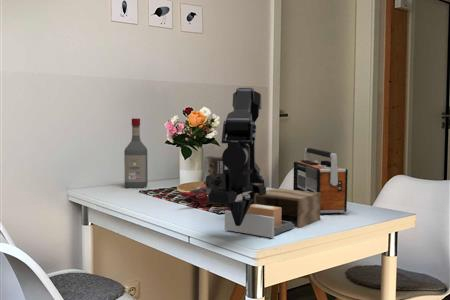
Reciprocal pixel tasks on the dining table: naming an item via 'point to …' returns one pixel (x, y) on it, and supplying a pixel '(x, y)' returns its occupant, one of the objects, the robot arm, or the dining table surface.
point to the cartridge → (267, 212)
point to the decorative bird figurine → (198, 194)
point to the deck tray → (256, 225)
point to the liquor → (135, 160)
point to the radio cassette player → (322, 180)
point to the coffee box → (213, 167)
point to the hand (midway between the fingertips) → (238, 225)
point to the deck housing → (293, 204)
